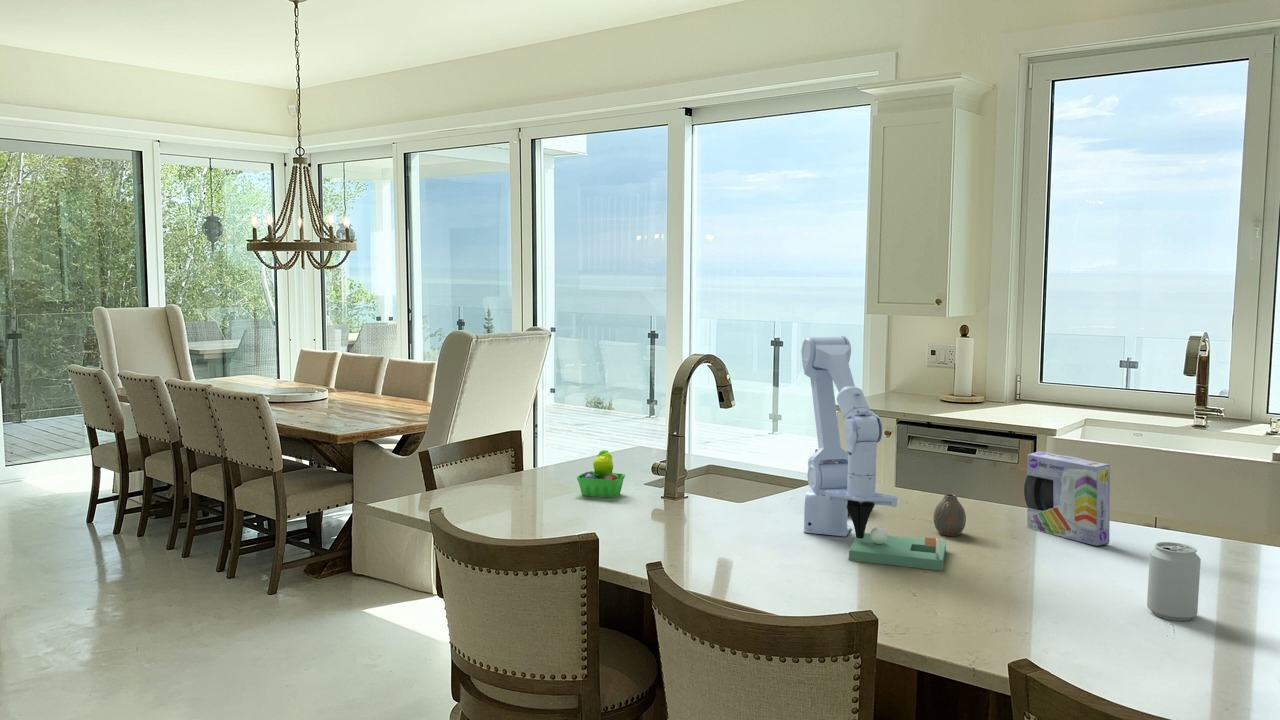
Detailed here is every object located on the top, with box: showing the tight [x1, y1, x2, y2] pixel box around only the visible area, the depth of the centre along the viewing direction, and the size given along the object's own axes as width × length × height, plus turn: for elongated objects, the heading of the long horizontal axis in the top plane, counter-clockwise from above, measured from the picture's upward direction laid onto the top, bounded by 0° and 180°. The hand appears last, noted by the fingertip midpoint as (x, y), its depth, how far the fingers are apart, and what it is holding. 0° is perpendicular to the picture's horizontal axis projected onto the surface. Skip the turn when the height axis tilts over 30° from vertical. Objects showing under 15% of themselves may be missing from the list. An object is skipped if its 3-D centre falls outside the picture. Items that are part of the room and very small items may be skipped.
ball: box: [869, 526, 888, 544], centre depth 192 cm, size 4×4×4 cm
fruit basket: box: [576, 449, 626, 499], centre depth 243 cm, size 11×9×11 cm
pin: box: [924, 536, 941, 559], centre depth 183 cm, size 3×1×6 cm, turn 69°
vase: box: [932, 493, 967, 537], centre depth 207 cm, size 7×7×9 cm
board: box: [848, 532, 947, 571], centre depth 191 cm, size 18×14×2 cm
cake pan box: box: [1023, 451, 1111, 547], centre depth 205 cm, size 19×5×18 cm, turn 27°
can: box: [1146, 541, 1202, 622], centre depth 158 cm, size 8×8×12 cm
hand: (860, 537), depth 193 cm, fingers closed
